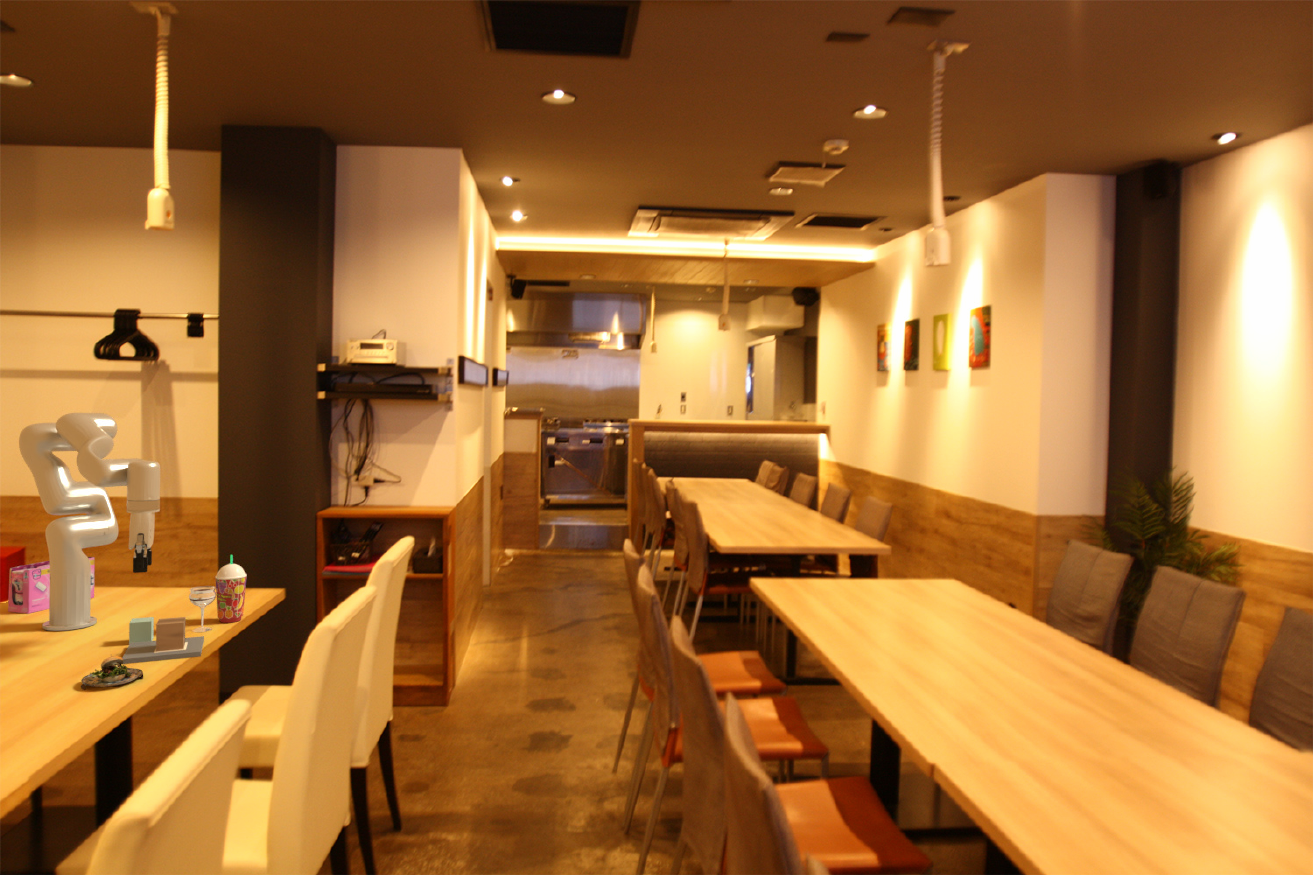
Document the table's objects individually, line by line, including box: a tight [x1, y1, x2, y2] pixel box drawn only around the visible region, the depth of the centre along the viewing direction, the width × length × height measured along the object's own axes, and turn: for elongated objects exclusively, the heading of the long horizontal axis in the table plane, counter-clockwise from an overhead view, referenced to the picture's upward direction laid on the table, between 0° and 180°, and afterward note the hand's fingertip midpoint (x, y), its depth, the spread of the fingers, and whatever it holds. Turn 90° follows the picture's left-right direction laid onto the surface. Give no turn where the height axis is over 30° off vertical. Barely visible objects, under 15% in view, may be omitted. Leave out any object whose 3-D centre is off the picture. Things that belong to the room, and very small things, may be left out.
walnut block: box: [155, 616, 186, 652], centre depth 203 cm, size 6×6×7 cm
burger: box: [80, 655, 144, 691], centre depth 181 cm, size 12×12×8 cm
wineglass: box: [188, 585, 217, 633], centre depth 224 cm, size 7×7×12 cm
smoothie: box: [215, 554, 248, 624], centre depth 234 cm, size 8×8×20 cm
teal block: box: [128, 616, 155, 645], centre depth 212 cm, size 5×5×6 cm
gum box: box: [7, 556, 95, 615], centre depth 246 cm, size 24×8×14 cm, turn 170°
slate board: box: [121, 636, 205, 665], centre depth 204 cm, size 15×17×1 cm
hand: (142, 568), depth 211 cm, fingers open, 9 cm apart
